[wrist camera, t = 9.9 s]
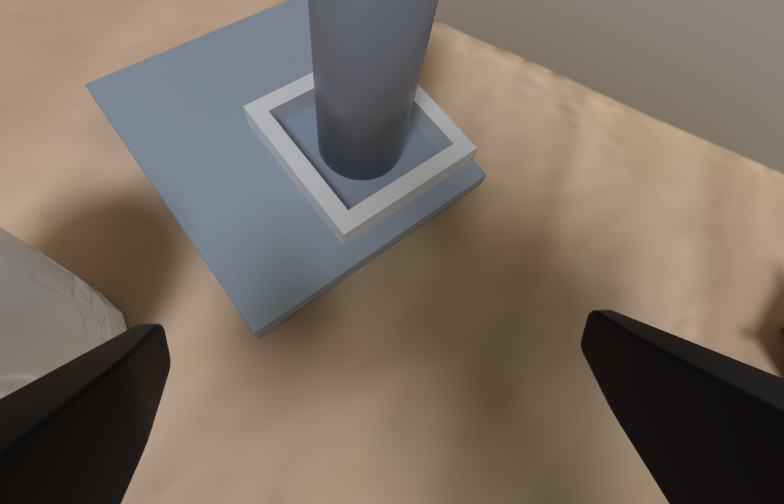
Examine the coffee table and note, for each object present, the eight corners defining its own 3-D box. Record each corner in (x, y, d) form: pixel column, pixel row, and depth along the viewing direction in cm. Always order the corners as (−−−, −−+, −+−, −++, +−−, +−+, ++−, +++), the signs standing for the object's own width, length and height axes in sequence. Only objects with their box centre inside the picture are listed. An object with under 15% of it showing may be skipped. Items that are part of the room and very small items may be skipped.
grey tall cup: (405, 182, 25) (472, -41, 12) (315, 181, 24) (293, -56, 12) (400, 109, 26) (453, -147, 14) (316, 105, 26) (298, -165, 14)
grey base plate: (479, 184, 27) (494, 161, 24) (258, 337, 22) (248, 328, 19) (316, 4, 30) (314, -33, 28) (95, 99, 25) (69, 64, 23)
